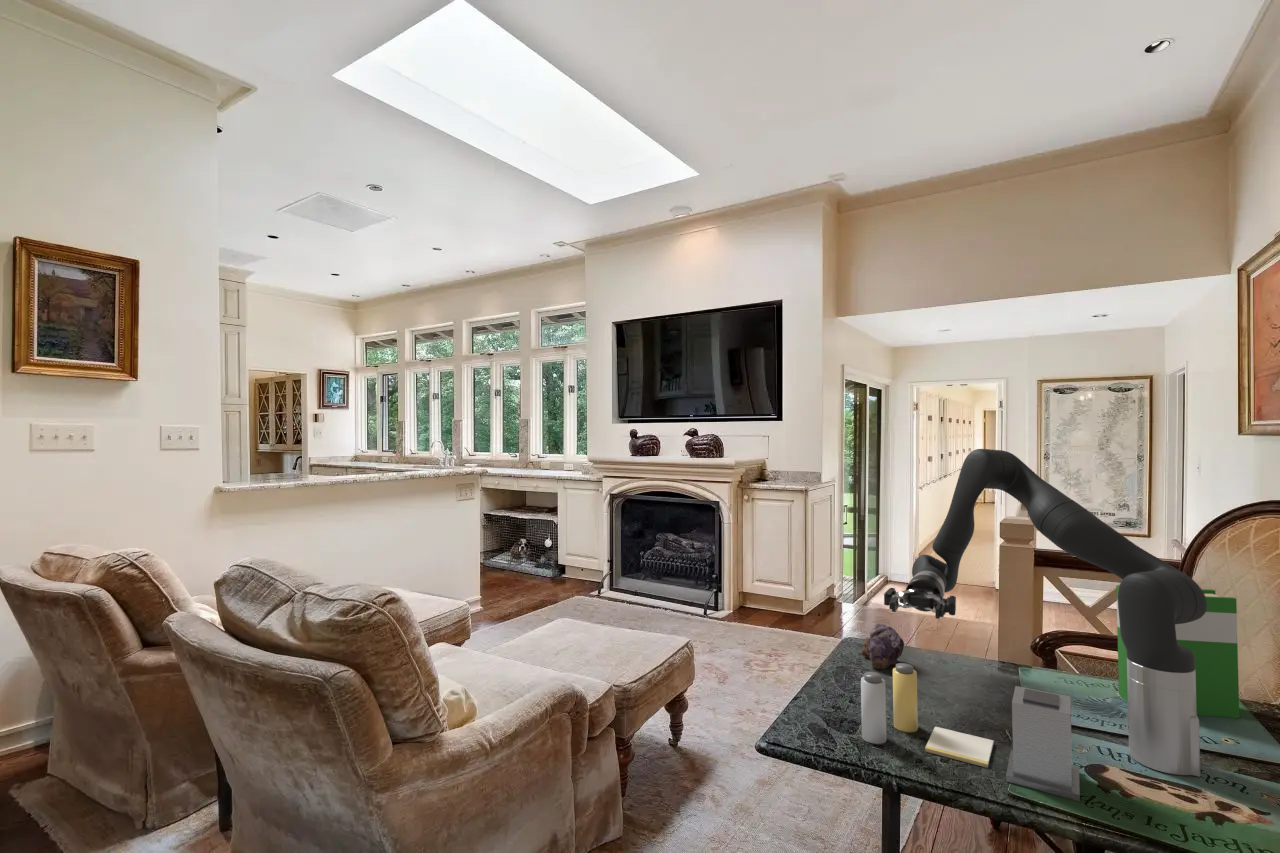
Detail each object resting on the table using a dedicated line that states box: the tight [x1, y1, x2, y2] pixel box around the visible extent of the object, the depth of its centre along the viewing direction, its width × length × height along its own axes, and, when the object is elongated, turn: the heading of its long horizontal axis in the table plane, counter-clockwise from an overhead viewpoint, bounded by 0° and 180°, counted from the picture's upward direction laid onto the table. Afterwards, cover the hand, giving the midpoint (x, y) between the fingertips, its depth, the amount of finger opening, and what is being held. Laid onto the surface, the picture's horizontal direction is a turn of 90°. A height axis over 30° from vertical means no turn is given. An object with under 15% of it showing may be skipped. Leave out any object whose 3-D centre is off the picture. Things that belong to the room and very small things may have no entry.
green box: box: [1116, 584, 1240, 719], centre depth 130 cm, size 18×7×24 cm, turn 75°
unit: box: [1005, 685, 1081, 802], centre depth 104 cm, size 10×10×13 cm
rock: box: [860, 623, 905, 670], centre depth 156 cm, size 12×9×10 cm
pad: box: [924, 726, 995, 769], centre depth 114 cm, size 10×10×1 cm
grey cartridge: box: [860, 671, 887, 745], centre depth 118 cm, size 4×4×12 cm
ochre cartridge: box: [892, 662, 919, 733], centre depth 122 cm, size 4×4×12 cm
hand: (915, 610), depth 130 cm, fingers open, 8 cm apart
